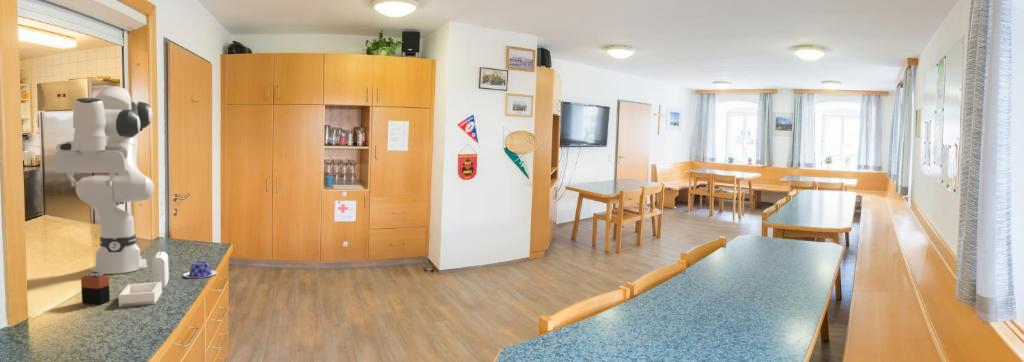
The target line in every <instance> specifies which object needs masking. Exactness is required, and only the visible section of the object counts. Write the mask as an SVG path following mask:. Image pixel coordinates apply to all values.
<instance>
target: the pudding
mask: <svg viewBox="0 0 1024 362" xmlns="http://www.w3.org/2000/svg"><path fill="white" fill-rule="evenodd" d="M190 266H191V267H190V270H189V271H188V272H185V273H183V275H182V276H183V277H184V278H188V279H200V278H201V279H202V278H208V277H211V276H214V275H216V274H218V271H217V270H214V269H211V267H210V266H211V265H210V263H209V262H207V261H203V260H201V261H195V262H192V263H191V265H190Z"/></svg>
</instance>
